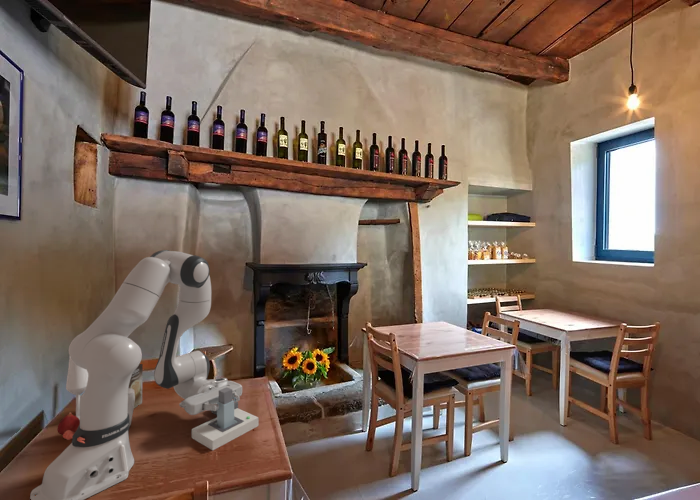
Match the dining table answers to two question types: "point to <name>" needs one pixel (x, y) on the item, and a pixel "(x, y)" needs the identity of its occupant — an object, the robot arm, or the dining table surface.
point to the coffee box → (137, 384)
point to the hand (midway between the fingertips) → (227, 403)
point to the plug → (225, 408)
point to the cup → (131, 403)
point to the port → (224, 430)
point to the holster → (234, 408)
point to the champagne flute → (76, 382)
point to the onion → (68, 424)
